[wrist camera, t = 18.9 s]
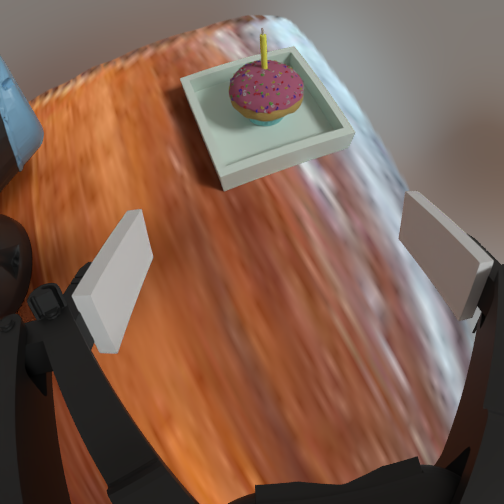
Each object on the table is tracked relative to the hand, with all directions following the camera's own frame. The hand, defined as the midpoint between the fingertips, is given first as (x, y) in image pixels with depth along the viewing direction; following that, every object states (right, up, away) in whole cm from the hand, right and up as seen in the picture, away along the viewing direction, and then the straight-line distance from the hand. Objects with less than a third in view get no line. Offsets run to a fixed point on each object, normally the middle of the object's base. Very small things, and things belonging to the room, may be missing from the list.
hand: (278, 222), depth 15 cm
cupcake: (+1, +16, +22) cm, 27 cm away
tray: (0, +15, +23) cm, 27 cm away
